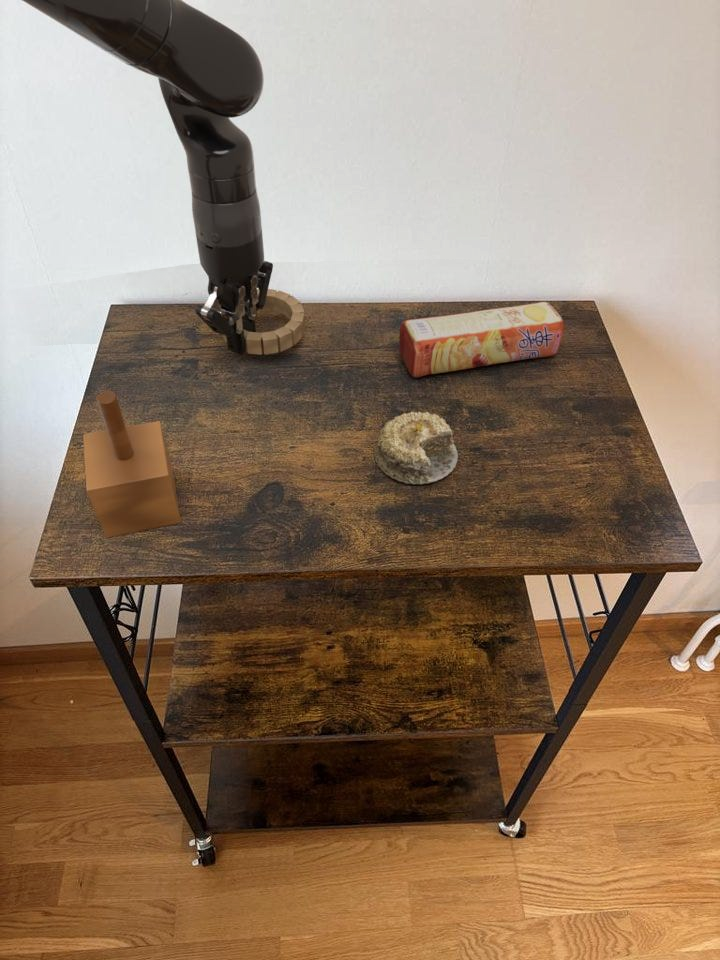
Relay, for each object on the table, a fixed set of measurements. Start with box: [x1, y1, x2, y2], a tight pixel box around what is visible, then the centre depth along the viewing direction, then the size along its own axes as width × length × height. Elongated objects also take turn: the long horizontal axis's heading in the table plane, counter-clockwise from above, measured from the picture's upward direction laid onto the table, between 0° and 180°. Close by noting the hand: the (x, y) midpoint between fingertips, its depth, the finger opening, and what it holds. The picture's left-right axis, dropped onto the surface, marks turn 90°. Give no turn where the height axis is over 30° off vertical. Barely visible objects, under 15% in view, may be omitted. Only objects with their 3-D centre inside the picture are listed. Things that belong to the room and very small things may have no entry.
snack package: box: [398, 301, 565, 378], centre depth 96 cm, size 21×7×7 cm, turn 105°
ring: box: [221, 288, 306, 356], centre depth 98 cm, size 11×11×2 cm
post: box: [82, 390, 182, 539], centre depth 75 cm, size 8×8×16 cm
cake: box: [373, 411, 459, 485], centre depth 85 cm, size 10×10×5 cm
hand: (242, 346), depth 96 cm, fingers closed on ring, 1 cm apart
